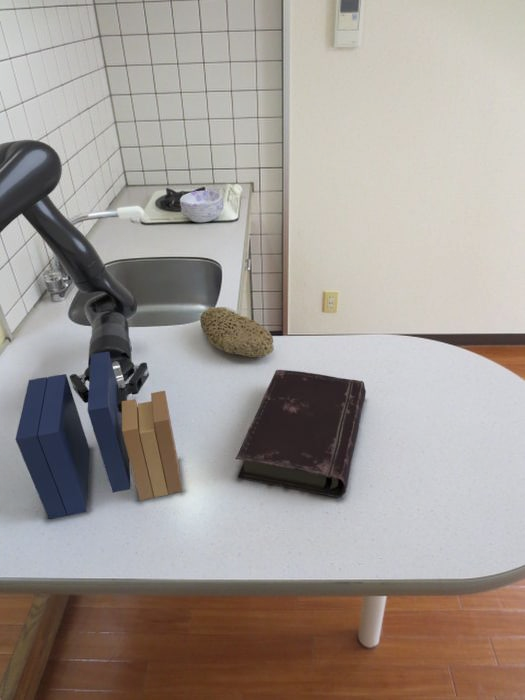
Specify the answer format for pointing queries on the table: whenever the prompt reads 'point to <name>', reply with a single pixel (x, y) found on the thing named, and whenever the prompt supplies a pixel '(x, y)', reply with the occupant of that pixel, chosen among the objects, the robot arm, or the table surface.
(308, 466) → the diary
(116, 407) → the navy book
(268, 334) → the sponge
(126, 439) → the tan books
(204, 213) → the paper bowls
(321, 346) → the table surface
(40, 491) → the navy book pair
